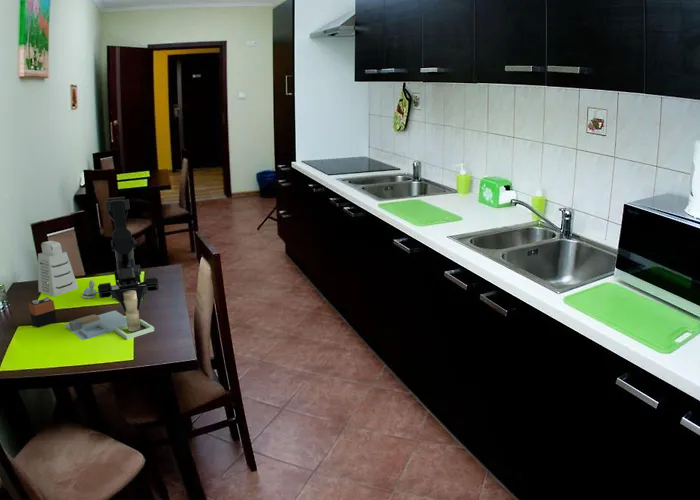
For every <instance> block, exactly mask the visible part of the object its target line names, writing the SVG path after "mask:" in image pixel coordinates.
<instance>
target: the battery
mask: <svg viewBox="0 0 700 500" xmlns="http://www.w3.org/2000/svg"><path fill="white" fill-rule="evenodd" d="M28 307H29V313H30V319H31V324H32V327H34V328H42V327H45V326H48V325H51V324H55V323H57V322H58V320H57V319H58V318H57V313H56V308H55V307H56V306H55V302H54V300H53V299H51V298H49V297H44V298H43V299H40V300H39V299H34V300H32V302H30V303H28Z"/></svg>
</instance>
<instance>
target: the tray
mask: <svg viewBox="0 0 700 500" xmlns="http://www.w3.org/2000/svg"><path fill="white" fill-rule="evenodd" d="M139 319H140V326H143V327H145V328H144V329H139V330H137V331H133V332H130V333H126V332H125V331H124V329H128V327H127V324H124V325H120V326H117V327H114V329H115V331H114V332H116V333H117V334H118V335H120V336H121V337H123V338H124V339H126V340H130V339H134V338H137V337H140V336H142V335H147V334H148V333H152V332H155V327H154V326H153V325H152V324H149V323H148V322H147V321H145V320H143V319H141V318H139Z"/></svg>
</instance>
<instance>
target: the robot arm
mask: <svg viewBox="0 0 700 500" xmlns="http://www.w3.org/2000/svg"><path fill="white" fill-rule="evenodd" d="M107 200H108V201H104V205H105V207H104V208H105V211H106V212H107V214H108V216H109V217H110V218H111V220H112V221H113V223H114V230H113V232H112V233H111V236H112V239H111V240H110V245H111V252H114V254H115V255H114V256H115V260H116V261H115V262H116V265H115V271H114V280H115V281H114V282H115V284H114V285H111V282H104V283H99V284H98V285H97V292H99V293H98V296H99V298H100V299H104V298H105V299H106V298H110V297H111V298H112V299H113V300H114V299H115V300H116V301H117V302H118V304H119V305H120V307H121V308H122V310H123V312H124V313H126V310H125V304H124V296H123V293H124V292H125V291H129V290H134V291H136V295H137V303H138V311H140V309H141V304H142V302H143V298H144V296H145V295H147V294H148V292H156V291H159V279H158V277H157V276H151V277H145V278H144V279H145V280H144V281H141V275H142V270H141V265H140V264H135V257H134V254H135V251H134V249H136V248H137V247H138V243H137V240H136V239H135V237H132V232H131V231H130V230H129V229H128V227H127V222H126V221H127V220H126V218H127V216H128V215H129V210H130V209H131V208H130V199H126V197H125V196H119V197H110V198H109V197H108V198H107Z"/></svg>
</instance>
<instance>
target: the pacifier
mask: <svg viewBox="0 0 700 500" xmlns="http://www.w3.org/2000/svg"><path fill="white" fill-rule="evenodd" d="M97 294H99V292H98V291H96V289H95V281H94V280H90V281H89V282H88V287H86V288H85V289H84V290H83V293H82V294H81V297H82V299H87V300H88V299H94V297H96V295H97Z"/></svg>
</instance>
